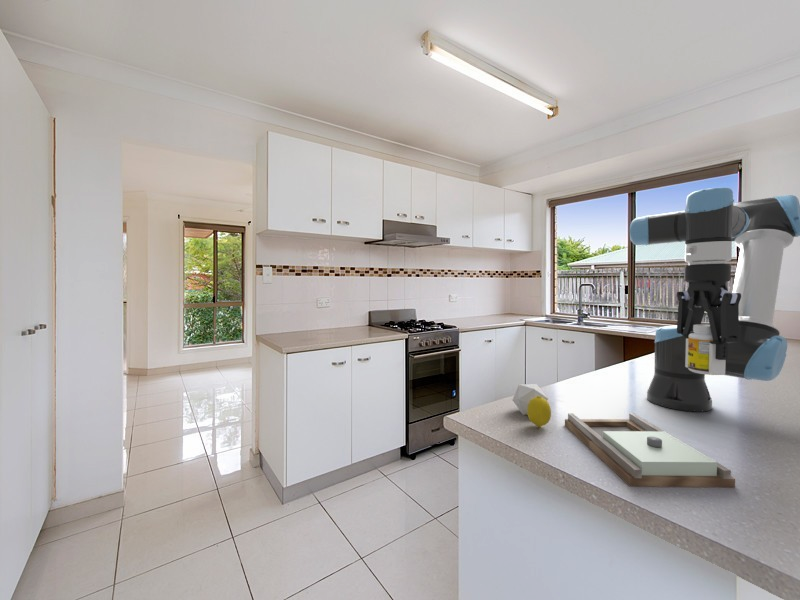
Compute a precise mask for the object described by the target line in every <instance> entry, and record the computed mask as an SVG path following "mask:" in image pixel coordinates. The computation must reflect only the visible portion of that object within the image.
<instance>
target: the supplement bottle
mask: <svg viewBox="0 0 800 600" xmlns="http://www.w3.org/2000/svg"><path fill="white" fill-rule="evenodd" d="M693 332H694V333H691V334H689V337H688V369H689V370H690V371H692V372H695V373H699V374H705V376H706V375H709V376H710V374H709V343H710V341H713V338H712V333H711V328H710V324H702V323H701V324H696V325H693ZM720 337H721V336H720Z"/></svg>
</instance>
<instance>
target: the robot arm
mask: <svg viewBox="0 0 800 600" xmlns="http://www.w3.org/2000/svg"><path fill="white" fill-rule="evenodd" d="M733 194H734V193H733V189H732V188H730V187H721V186H720V187H712V188H711V187H709V188H705V189H704V188H703V189H699V190H695V191H693V192H691V193H690V194H688V195H687V197H686V200H685V209H684V210H681V211H674V212H668V213H660V214H652V215H645V216H640V217H635V218H633V220H632V221H631V222H630V225H629V238H630V241H631V243H632V244H634V245H635V246H651V245H661V244H672V243H683V242H685V243H684V244H685V245H684V246H685V247H684V248H685V249H684V252H685V253H684V262H685V263H686V265H685V266H684V270H683V271H684V274H683V276H684V277H683V279H684V281H685V283H688V287H687V289H686V290H684V291H683V290H682V291H677V292H676V297H677V300H678V303H677V306H678V307H677V322H676V325H665V326H660V327H658V328H657V329H656V330H655V338H654V341H653V343H654V375H653V377H652V379H651V381H650V384H649V387H648V388H647V391H646V399H647V401H648V402H650V403H653V404H655V405H656V406H657V405H658V406H660V407H664V408H668V409H673V410H679V411H685V412H686V411H687V412H696V413H697V412H699V413H700V412H709V411H711V410H712V409H713V400H712V397H711V394H710V391H709V389H708V386H707V383H706V380H705V377H706V374H699V373H695V372H692V371H690V370H689V369H688V337H689V334H691V333H694V332H693V325H696V324H702V322H703V318H704V314H705V312H706V314H707V319H708V325H710V328H711V333H712V338H713V341H710V343H709V374H710V375H711V376H728V377H734V378H739V379H741V378H742V379H745V380H749V381H752V380H754V381H763V382H769V381H773V380H775V379H777V377H778V376H779V375H780V373H781V372H782V369H783V368H784V364H785V361H786V357H787V350H788V341H787V338H786V337H785V336H782V335H780V334H781V332H780V330H779V328H777V327H775V325H773V323H774V315H775V308H776V302H777V295H778V288H779V283H780V276H781V269H782V268H781V267H782V261H783V256H784V250H785V248H788V247H790V246H791V245H792V244H793V242H794V238H798V237H800V200H799V198H798V197H797V196H796V195H793V194H788V195H780V196H777V195H775V196H773V197H768V198H760V199H758V198H757V199H752V200H746V201H745V200H744V201H739V202H735V199H734V195H733ZM732 242H734V243H735V245H736V246H737V247H738V248H739V249H740V250H739V254H738V255H739V256H738V260H737V266H736V271H735V276H734V283H733V287H732V291H729V290H728V286H727V283H728V282H730V281H731V278H732V265H730V263H728V262H730V261H731V260H732V259H733V258H732V256H733V253H732V251H733V249H732V248H733V247H732V244H733V243H732ZM687 263H688V264H687ZM720 336H721V337H720ZM710 375H709V376H710Z"/></svg>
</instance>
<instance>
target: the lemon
mask: <svg viewBox="0 0 800 600" xmlns="http://www.w3.org/2000/svg"><path fill="white" fill-rule="evenodd" d="M551 409H552V408H551V405H550V403H549V402H548V400H547V401H546V400H545V399H544V398H542V397H541V396H537V397H534V398H532V399H531V400H530V402H529V404H528V408H527V414H528V415H527V416H528V419H529V421H530V422H531V423H532V424H534V425H535V426H536V427H537V428H541V427H542V426H545V425H547V424H548V423H549V422H550V420H551V417H552V410H551Z"/></svg>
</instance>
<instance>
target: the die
mask: <svg viewBox="0 0 800 600" xmlns="http://www.w3.org/2000/svg"><path fill="white" fill-rule="evenodd" d="M537 396H541V397H542V398H544V399H545V400H546V401H547V402H548V400H549V398H548V396H547V395H546V394H545V393H544V391H543V390H542V388H541V387H539V385H538V383H527V384H524V383H523V384H522V383H521V384H520V383H519V384H518V386H517V388H516V391H515V393H514V396H513V397H512V402H513V403H514V404H515V406H516V407H517V409H518V410H519V412H520V413H521V415H522V416H526V415H527V416H528V414H527V408H528V404H529V402H530V400H531V399H532V398H534V397H537Z"/></svg>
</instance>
